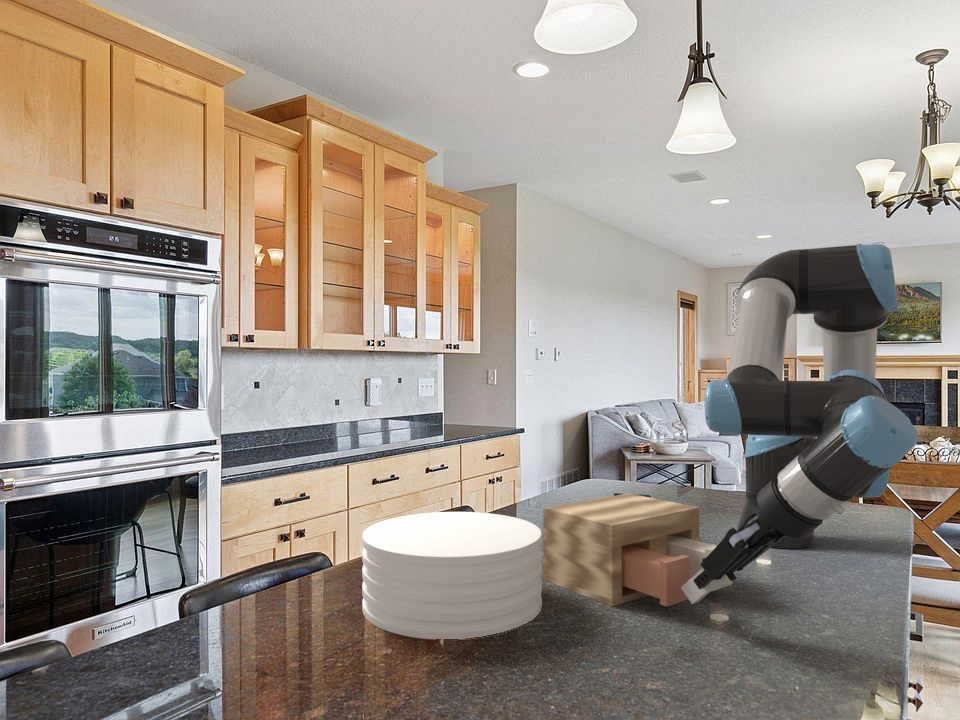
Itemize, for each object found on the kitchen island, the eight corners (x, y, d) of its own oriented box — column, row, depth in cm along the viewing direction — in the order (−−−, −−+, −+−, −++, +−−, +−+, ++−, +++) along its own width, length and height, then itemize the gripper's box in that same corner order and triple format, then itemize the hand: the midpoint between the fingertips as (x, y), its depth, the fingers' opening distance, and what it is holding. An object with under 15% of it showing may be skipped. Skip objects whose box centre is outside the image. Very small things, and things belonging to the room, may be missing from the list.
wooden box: (699, 579, 115) (699, 507, 115) (612, 606, 102) (612, 525, 102) (628, 557, 128) (628, 493, 128) (543, 579, 115) (543, 507, 115)
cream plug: (732, 584, 107) (732, 544, 107) (711, 591, 104) (711, 550, 104) (648, 559, 121) (648, 524, 121) (627, 564, 118) (627, 528, 118)
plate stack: (578, 603, 104) (577, 530, 104) (446, 660, 84) (446, 569, 84) (456, 566, 124) (456, 504, 124) (326, 604, 104) (326, 531, 104)
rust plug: (690, 598, 101) (690, 556, 101) (666, 606, 97) (666, 563, 97) (606, 570, 114) (606, 533, 115) (583, 576, 111) (582, 538, 111)
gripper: (794, 530, 77) (676, 629, 90) (847, 515, 85) (731, 608, 98) (751, 479, 82) (645, 580, 95) (805, 469, 89) (700, 564, 103)
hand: (689, 594), depth 96 cm, fingers closed
